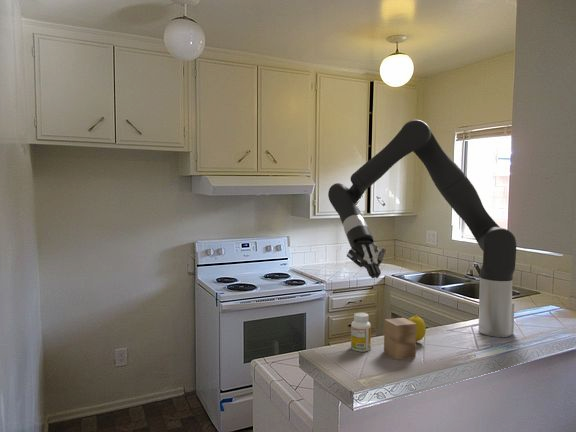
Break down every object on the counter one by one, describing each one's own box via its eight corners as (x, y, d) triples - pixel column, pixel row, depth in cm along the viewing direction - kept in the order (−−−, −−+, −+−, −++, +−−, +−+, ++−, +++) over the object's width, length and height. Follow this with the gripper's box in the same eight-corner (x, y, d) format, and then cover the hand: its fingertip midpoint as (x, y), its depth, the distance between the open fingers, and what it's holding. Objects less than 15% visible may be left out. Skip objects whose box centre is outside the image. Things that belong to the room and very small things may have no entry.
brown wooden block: (402, 349, 119) (403, 317, 119) (415, 357, 114) (416, 323, 113) (383, 351, 117) (384, 319, 117) (396, 359, 112) (396, 325, 111)
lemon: (403, 339, 128) (403, 312, 127) (421, 339, 128) (421, 312, 128) (409, 345, 122) (410, 318, 122) (428, 345, 123) (429, 317, 122)
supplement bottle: (361, 344, 123) (362, 310, 123) (374, 350, 119) (375, 315, 118) (347, 347, 121) (347, 313, 120) (359, 353, 116) (359, 318, 116)
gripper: (342, 224, 133) (360, 270, 122) (380, 224, 137) (401, 268, 126) (334, 240, 138) (351, 285, 127) (371, 239, 143) (391, 282, 132)
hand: (376, 276), depth 127 cm, fingers closed
